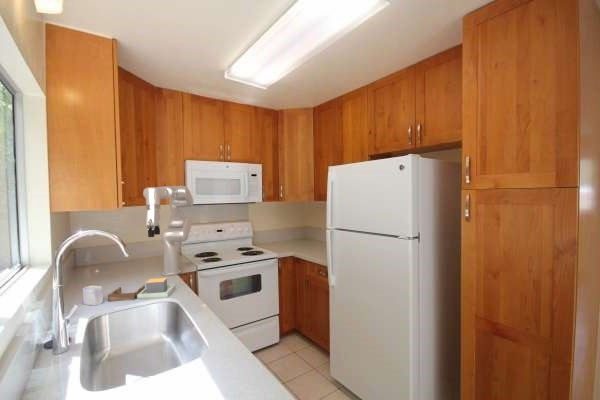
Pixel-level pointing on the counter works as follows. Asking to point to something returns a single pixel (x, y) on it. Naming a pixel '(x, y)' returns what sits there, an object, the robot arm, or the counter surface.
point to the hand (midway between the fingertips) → (154, 235)
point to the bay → (123, 295)
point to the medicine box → (92, 295)
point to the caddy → (156, 285)
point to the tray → (144, 294)
